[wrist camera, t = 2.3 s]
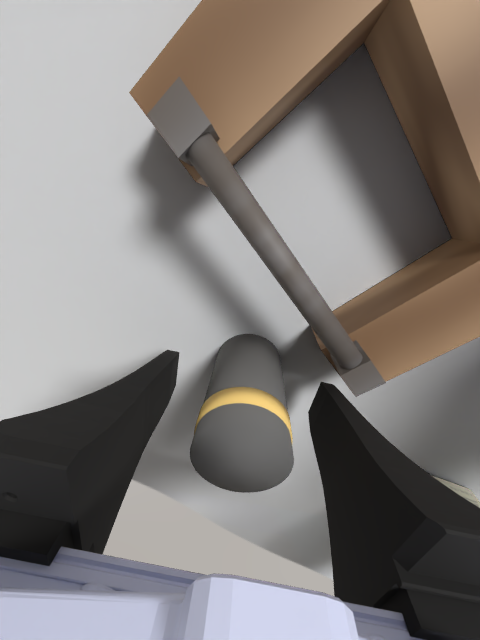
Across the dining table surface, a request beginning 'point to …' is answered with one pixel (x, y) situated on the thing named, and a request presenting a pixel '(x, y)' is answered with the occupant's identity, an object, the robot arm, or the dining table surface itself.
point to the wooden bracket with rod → (284, 95)
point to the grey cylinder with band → (244, 419)
